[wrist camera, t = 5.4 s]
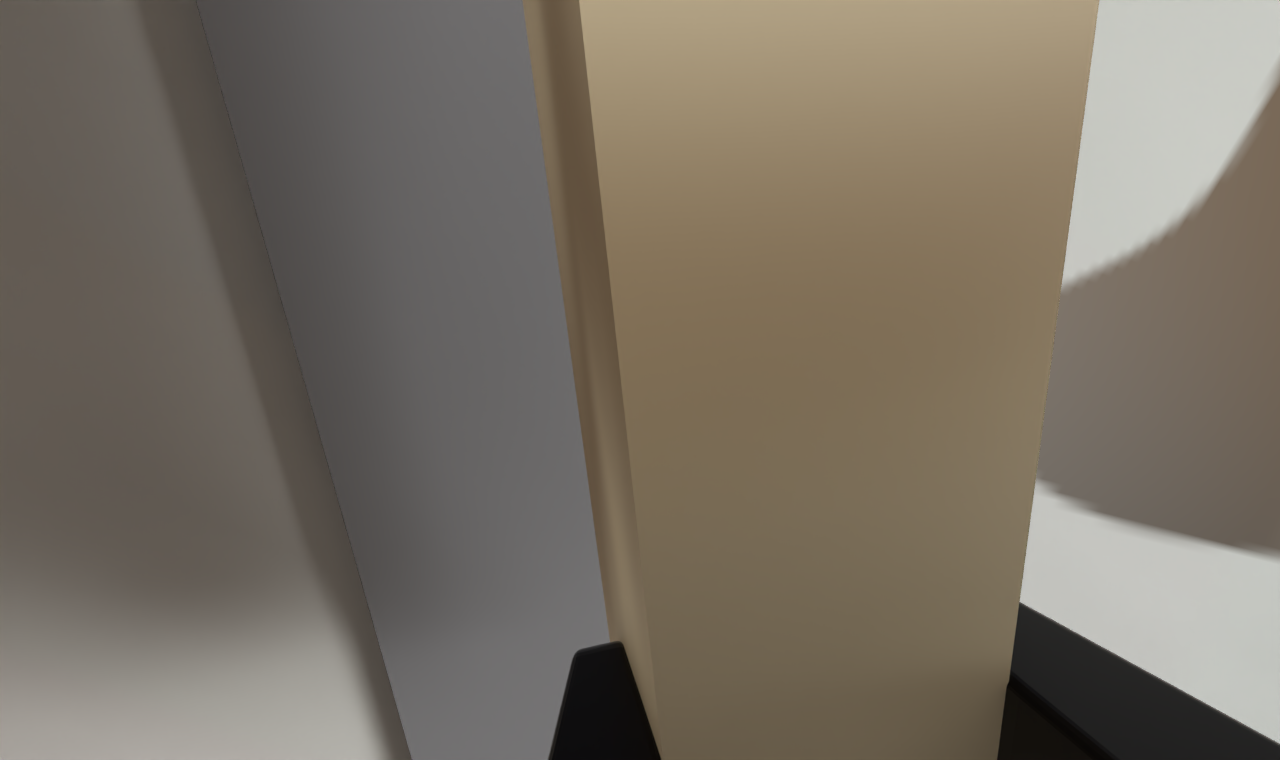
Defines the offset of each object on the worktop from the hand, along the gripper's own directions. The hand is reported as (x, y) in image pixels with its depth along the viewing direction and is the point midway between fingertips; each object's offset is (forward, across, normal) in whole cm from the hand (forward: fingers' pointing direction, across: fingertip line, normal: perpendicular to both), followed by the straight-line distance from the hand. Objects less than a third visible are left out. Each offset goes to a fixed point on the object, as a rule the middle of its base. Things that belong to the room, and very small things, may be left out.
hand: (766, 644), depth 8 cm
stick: (+1, 0, -4) cm, 4 cm away
